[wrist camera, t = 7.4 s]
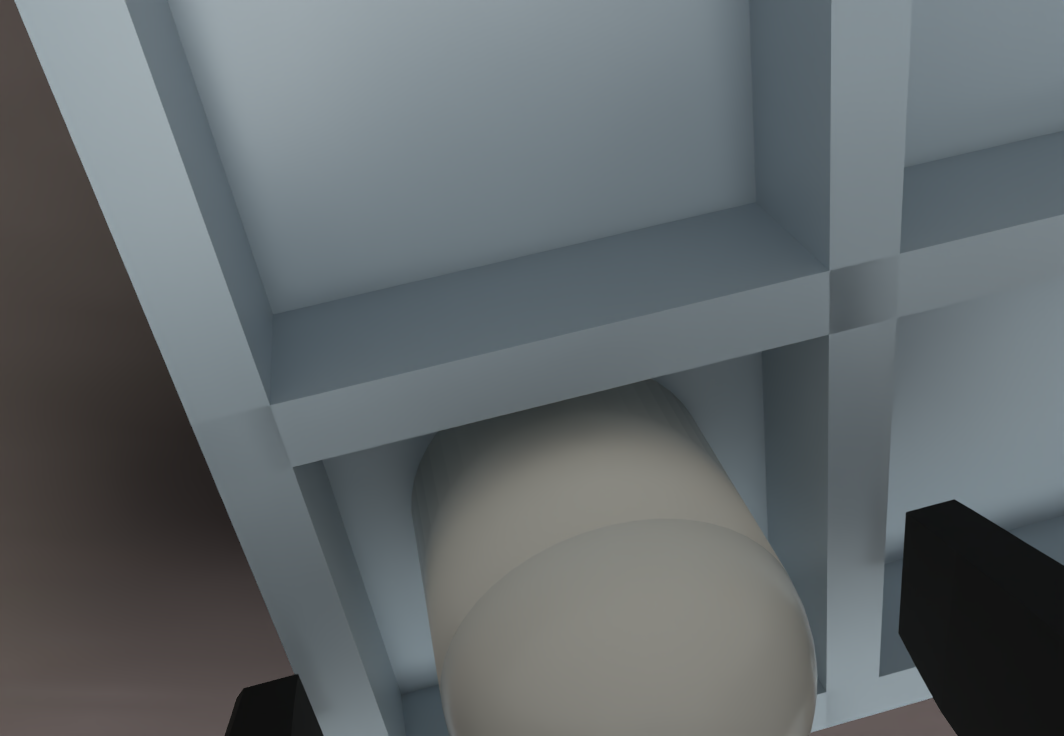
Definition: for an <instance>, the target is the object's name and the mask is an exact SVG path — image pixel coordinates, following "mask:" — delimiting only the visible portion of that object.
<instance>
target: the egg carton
mask: <svg viewBox="0 0 1064 736" xmlns="http://www.w3.org/2000/svg"><path fill="white" fill-rule="evenodd" d="M14 1H15V3H16V5H17V8H18V10H19V13H20V15H21V17H22V20H23V22H24V25H25V27H26V29H27V32H28V34H29V37H30V39H31V41H32V44H33V46H34V49H35V51H36V53H37V56H38V58H39V61H40V63H41V65H42V68H43V70H44V73H45V75H46V77H47V80H48V82H49V85H50V87H51V90H52V92H53V94H54V97H55V99H56V102H57V104H58V106H59V109H60V111H61V114H62V116H63V118H64V121H65V123H66V126H67V128H68V130H69V133H70V135H71V138H72V140H73V142H74V145H75V147H76V150H77V152H78V154H79V157H80V159H81V162H82V164H83V166H84V169H85V171H86V174H87V176H88V178H89V181H90V183H91V186H92V188H93V190H94V193H95V195H96V198H97V200H98V202H99V205H100V207H101V210H102V212H103V215H104V217H105V219H106V222H107V224H108V227H109V229H110V231H111V234H112V236H113V239H114V241H115V243H116V246H117V248H118V251H119V253H120V255H121V258H122V260H123V263H124V265H125V267H126V270H127V272H128V275H129V277H130V279H131V282H132V284H133V287H134V289H135V291H136V294H137V296H138V299H139V301H140V303H141V306H142V308H143V311H144V313H145V315H146V318H147V320H148V323H149V325H150V327H151V330H152V332H153V335H154V337H155V340H156V342H157V344H158V347H159V349H160V352H161V354H162V356H163V359H164V361H165V364H166V366H167V368H168V371H169V373H170V376H171V378H172V380H173V383H174V385H175V388H176V390H177V392H178V395H179V397H180V400H181V402H182V404H183V407H184V409H185V412H186V414H187V416H188V419H189V421H190V424H191V426H192V428H193V431H194V433H195V436H196V438H197V440H198V443H199V445H200V448H201V450H202V452H203V455H204V457H205V460H206V462H207V464H208V467H209V469H210V472H211V474H212V477H213V479H214V481H215V484H216V486H217V489H218V491H219V493H220V496H221V498H222V501H223V503H224V505H225V508H226V510H227V513H228V515H229V517H230V520H231V522H232V525H233V527H234V529H235V532H236V534H237V537H238V539H239V541H240V544H241V546H242V549H243V551H244V553H245V556H246V558H247V561H248V563H249V565H250V568H251V570H252V573H253V575H254V577H255V580H256V582H257V585H258V587H259V589H260V592H261V594H262V597H263V599H264V602H265V604H266V606H267V609H268V611H269V614H270V616H271V618H272V621H273V623H274V626H275V628H276V630H277V633H278V635H279V638H280V640H281V642H282V645H283V647H284V650H285V652H286V654H287V657H288V659H289V662H290V664H291V666H292V669H293V671H294V674H295V675H296V674H299V677H300V679H301V682H302V684H303V686H304V689H305V691H306V694H307V696H308V699H309V701H310V703H311V706H312V708H313V711H314V713H315V716H316V718H317V720H318V723H319V725H320V728H321V730H322V732H323V735H324V736H450V735H449V733H448V729H447V725H446V721H445V717H444V713H443V708H442V702H441V696H440V690H439V684H438V677H437V671H436V664H435V658H434V652H433V645H432V639H431V633H430V626H429V620H428V613H427V607H426V601H425V594H424V588H423V582H422V575H421V569H420V562H419V556H418V550H417V543H416V537H415V531H414V524H413V518H412V490H413V484H414V479H415V476H416V473H417V470H418V466H419V463H420V461H421V459H422V457H423V455H424V453H425V451H426V449H427V447H428V446H429V444H430V443H431V441H432V440H433V438H434V437H435V435H436V434H437V432H438V431H441V430H445V429H449V428H453V427H457V426H461V425H465V424H469V423H473V422H477V421H481V420H485V419H490V418H494V417H498V416H502V415H506V414H510V413H514V412H518V411H522V410H526V409H530V408H534V407H538V406H542V405H546V404H550V403H554V402H558V401H562V400H566V399H570V398H574V397H579V396H583V395H587V394H591V393H595V392H599V391H603V390H607V389H611V388H615V387H619V386H623V385H627V384H631V383H635V382H639V381H643V380H647V379H652V380H654V381H656V382H658V383H659V384H661V385H662V386H664V387H665V388H666V389H668V390H669V391H671V392H672V393H673V394H674V395H675V396H676V397H677V398H678V399H679V400H680V401H681V402H682V403H683V405H684V406H685V407H686V409H687V410H688V411H689V413H690V414H691V415H692V417H693V419H694V420H695V422H696V424H697V425H698V427H699V429H700V430H701V432H702V434H703V435H704V437H705V438H706V440H707V442H708V443H709V445H710V447H711V448H712V450H713V452H714V453H715V455H716V457H717V458H718V460H719V461H720V463H721V465H722V466H723V468H724V470H725V471H726V473H727V475H728V476H729V478H730V480H731V481H732V483H733V484H734V486H735V488H736V489H737V491H738V493H739V494H740V496H741V498H742V499H743V501H744V503H745V504H746V506H747V507H748V509H749V511H750V512H751V514H752V516H753V517H754V519H755V521H756V522H757V524H758V526H759V527H760V529H761V530H762V532H763V534H764V535H765V537H766V539H767V540H768V542H769V544H770V545H771V547H772V549H773V550H774V552H775V553H776V555H777V557H778V558H779V560H780V562H781V563H782V565H783V567H784V568H785V570H786V572H787V573H788V575H789V577H790V579H791V581H792V583H793V585H794V587H795V589H796V591H797V593H798V595H799V597H800V599H801V602H802V604H803V606H804V609H805V612H806V615H807V619H808V622H809V625H810V629H811V633H812V636H813V640H814V647H815V654H816V662H817V700H816V708H815V714H814V719H813V724H812V729H811V732H814V731H817V730H821V729H824V728H828V727H832V726H835V725H839V724H842V723H846V722H849V721H853V720H856V719H860V718H863V717H867V716H870V715H874V714H877V713H881V712H884V711H888V710H891V709H895V708H898V707H902V706H905V705H909V704H912V703H916V702H919V701H923V700H926V699H930V698H933V697H932V695H931V693H930V691H929V690H928V688H927V686H926V684H925V682H924V681H923V679H922V677H921V675H920V673H919V672H918V670H917V668H916V666H915V664H914V662H913V660H912V658H911V656H910V655H909V653H908V651H907V649H906V647H905V645H904V643H903V641H902V639H901V637H900V636H899V634H898V630H899V614H900V598H901V582H902V566H903V550H904V534H905V518H906V512H908V511H912V510H916V509H919V508H923V507H927V506H931V505H934V504H938V503H942V502H946V501H950V500H953V499H955V500H957V501H958V502H960V503H962V504H963V505H965V506H967V507H968V508H970V509H972V510H974V511H975V512H977V513H979V514H980V515H982V516H983V517H985V518H987V519H988V520H990V521H992V522H993V523H995V524H997V525H998V526H1000V527H1002V528H1003V529H1005V530H1006V531H1008V532H1010V533H1011V534H1013V535H1015V536H1016V537H1018V538H1019V539H1021V540H1023V541H1024V542H1026V543H1028V544H1029V545H1031V546H1033V547H1034V548H1036V549H1038V550H1039V551H1041V552H1042V553H1044V554H1046V555H1047V556H1049V557H1051V558H1052V559H1054V560H1056V561H1057V562H1059V563H1061V564H1062V565H1064V0H14Z"/></svg>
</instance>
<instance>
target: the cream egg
mask: <svg viewBox="0 0 1064 736" xmlns="http://www.w3.org/2000/svg"><path fill="white" fill-rule="evenodd" d="M412 518H413V524H414V531H415V537H416V543H417V550H418V556H419V562H420V569H421V575H422V582H423V588H424V594H425V601H426V607H427V613H428V620H429V626H430V633H431V639H432V645H433V652H434V658H435V664H436V671H437V677H438V684H439V690H440V696H441V702H442V708H443V713H444V717H445V721H446V725H447V729H448V733H449V735H450V736H810V733H811V729H812V724H813V719H814V714H815V708H816V700H817V662H816V654H815V647H814V640H813V636H812V633H811V629H810V625H809V622H808V619H807V615H806V612H805V609H804V606H803V604H802V602H801V599H800V597H799V595H798V593H797V591H796V589H795V587H794V585H793V583H792V581H791V579H790V577H789V575H788V573H787V572H786V570H785V568H784V567H783V565H782V563H781V562H780V560H779V558H778V557H777V555H776V553H775V552H774V550H773V549H772V547H771V545H770V544H769V542H768V540H767V539H766V537H765V535H764V534H763V532H762V530H761V529H760V527H759V526H758V524H757V522H756V521H755V519H754V517H753V516H752V514H751V512H750V511H749V509H748V507H747V506H746V504H745V503H744V501H743V499H742V498H741V496H740V494H739V493H738V491H737V489H736V488H735V486H734V484H733V483H732V481H731V480H730V478H729V476H728V475H727V473H726V471H725V470H724V468H723V466H722V465H721V463H720V461H719V460H718V458H717V457H716V455H715V453H714V452H713V450H712V448H711V447H710V445H709V443H708V442H707V440H706V438H705V437H704V435H703V434H702V432H701V430H700V429H699V427H698V425H697V424H696V422H695V420H694V419H693V417H692V415H691V414H690V413H689V411H688V410H687V409H686V407H685V406H684V405H683V403H682V402H681V401H680V400H679V399H678V398H677V397H676V396H675V395H674V394H673V393H672V392H671V391H669V390H668V389H666V388H665V387H664V386H662V385H661V384H659V383H658V382H656V381H654V380H652V379H647V380H643V381H639V382H635V383H631V384H627V385H623V386H619V387H615V388H611V389H607V390H603V391H599V392H595V393H591V394H587V395H583V396H579V397H574V398H570V399H566V400H562V401H558V402H554V403H550V404H546V405H542V406H538V407H534V408H530V409H526V410H522V411H518V412H514V413H510V414H506V415H502V416H498V417H494V418H490V419H485V420H481V421H477V422H473V423H469V424H465V425H461V426H457V427H453V428H449V429H445V430H441V431H438V432H437V434H436V435H435V437H434V438H433V440H432V441H431V443H430V444H429V446H428V447H427V449H426V451H425V453H424V455H423V457H422V459H421V461H420V463H419V466H418V470H417V473H416V476H415V479H414V484H413V490H412Z"/></svg>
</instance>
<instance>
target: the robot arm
mask: <svg viewBox="0 0 1064 736" xmlns="http://www.w3.org/2000/svg"><path fill="white" fill-rule="evenodd" d="M898 634H899V636H900V637H901V639H902V641H903V643H904V645H905V647H906V649H907V651H908V653H909V655H910V656H911V658H912V660H913V662H914V664H915V666H916V668H917V670H918V672H919V673H920V675H921V677H922V679H923V681H924V682H925V684H926V686H927V688H928V690H929V691H930V693H931V695H932V697H933V698H934V700H935V702H936V704H937V706H938V707H939V709H940V711H941V712H942V714H943V715H944V717H945V718H946V720H947V721H948V722H949V724H950V725H951V727H952V728H953V730H954V731H955V733H956V734H957V735H958V736H1064V565H1062V564H1061V563H1059V562H1057V561H1056V560H1054V559H1052V558H1051V557H1049V556H1047V555H1046V554H1044V553H1042V552H1041V551H1039V550H1038V549H1036V548H1034V547H1033V546H1031V545H1029V544H1028V543H1026V542H1024V541H1023V540H1021V539H1019V538H1018V537H1016V536H1015V535H1013V534H1011V533H1010V532H1008V531H1006V530H1005V529H1003V528H1002V527H1000V526H998V525H997V524H995V523H993V522H992V521H990V520H988V519H987V518H985V517H983V516H982V515H980V514H979V513H977V512H975V511H974V510H972V509H970V508H968V507H967V506H965V505H963V504H962V503H960V502H958V501H957V500H955V499H953V500H950V501H946V502H942V503H938V504H934V505H931V506H927V507H923V508H919V509H916V510H912V511H908V512H906V518H905V534H904V550H903V566H902V582H901V598H900V614H899V630H898ZM225 736H324V735H323V732H322V730H321V728H320V725H319V723H318V720H317V718H316V716H315V713H314V711H313V708H312V706H311V703H310V701H309V699H308V696H307V694H306V691H305V689H304V686H303V684H302V682H301V679H300V677H299V674H296V675H292V676H288V677H285V678H281V679H277V680H273V681H270V682H266V683H262V684H258V685H255V686H251V687H247V688H244V689H243V690H242V692H241V693H240V694H239V696H238V697H237V699H236V702H235V705H234V709H233V712H232V715H231V718H230V721H229V724H228V727H227V730H226V733H225Z"/></svg>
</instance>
